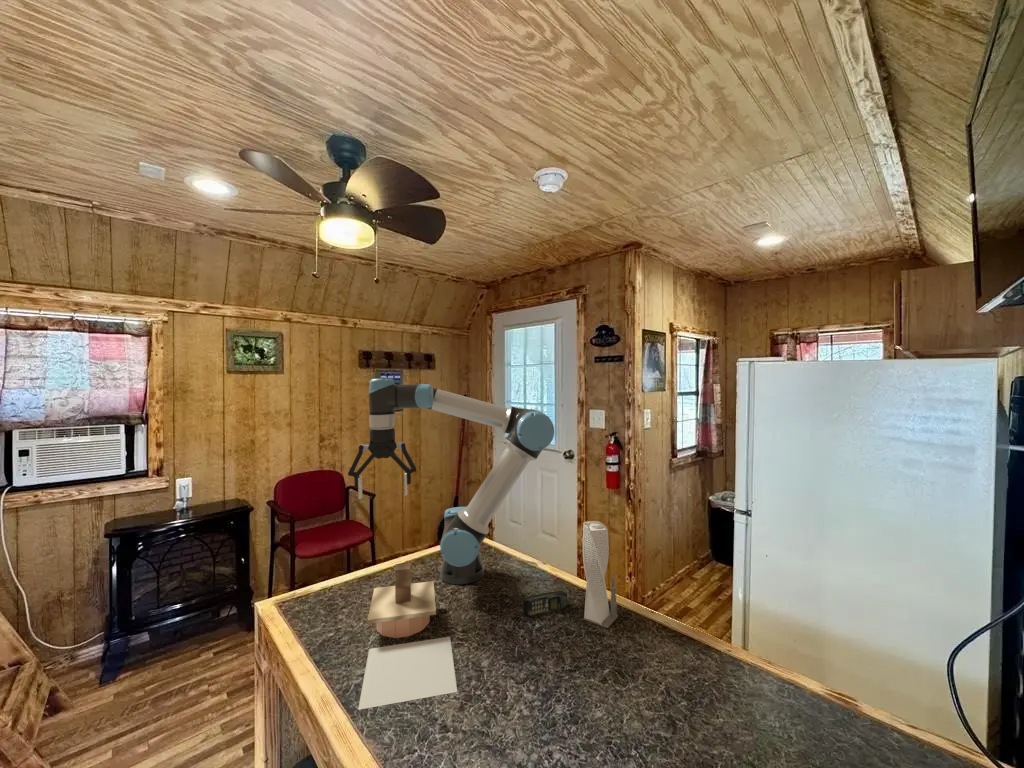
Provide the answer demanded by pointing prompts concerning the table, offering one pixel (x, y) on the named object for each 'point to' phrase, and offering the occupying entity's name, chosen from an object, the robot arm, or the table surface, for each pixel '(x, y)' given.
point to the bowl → (402, 627)
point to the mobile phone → (544, 603)
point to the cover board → (402, 609)
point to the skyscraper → (597, 575)
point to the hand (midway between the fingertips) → (383, 496)
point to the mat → (408, 672)
